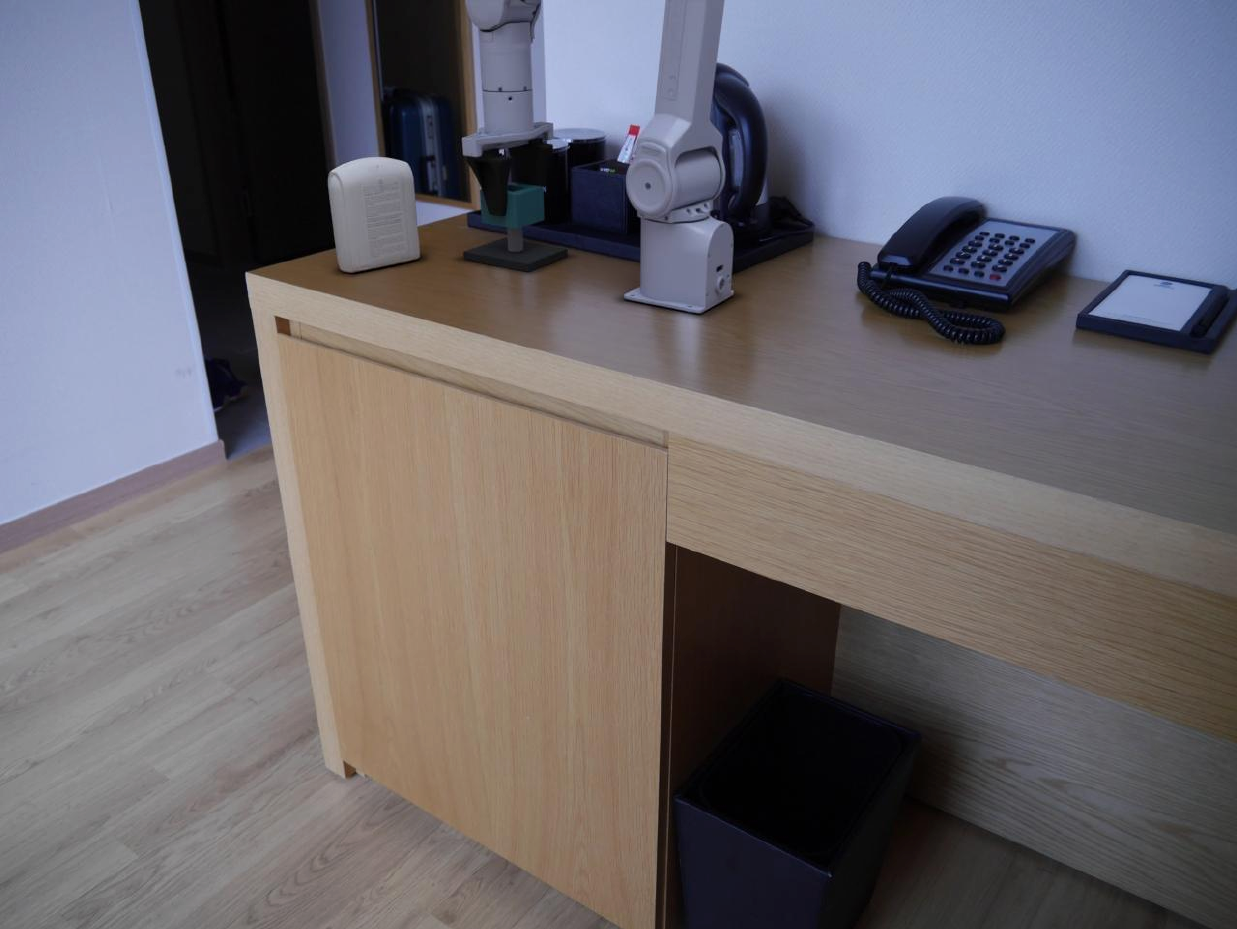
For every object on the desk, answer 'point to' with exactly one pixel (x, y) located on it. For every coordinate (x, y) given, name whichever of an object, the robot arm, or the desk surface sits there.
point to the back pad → (515, 253)
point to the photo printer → (373, 213)
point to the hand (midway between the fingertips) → (513, 210)
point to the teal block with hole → (517, 207)
